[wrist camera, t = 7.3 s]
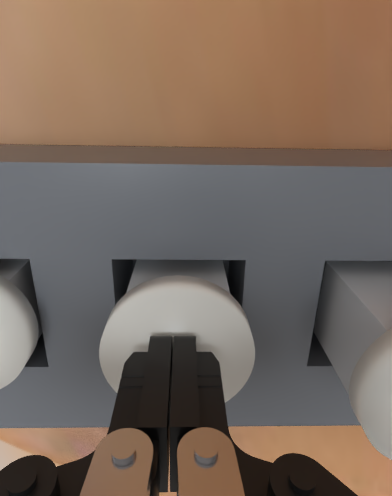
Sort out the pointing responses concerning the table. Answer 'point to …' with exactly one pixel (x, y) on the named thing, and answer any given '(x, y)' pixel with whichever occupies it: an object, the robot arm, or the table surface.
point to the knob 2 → (180, 318)
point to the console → (187, 248)
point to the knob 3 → (360, 340)
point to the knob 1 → (17, 318)
